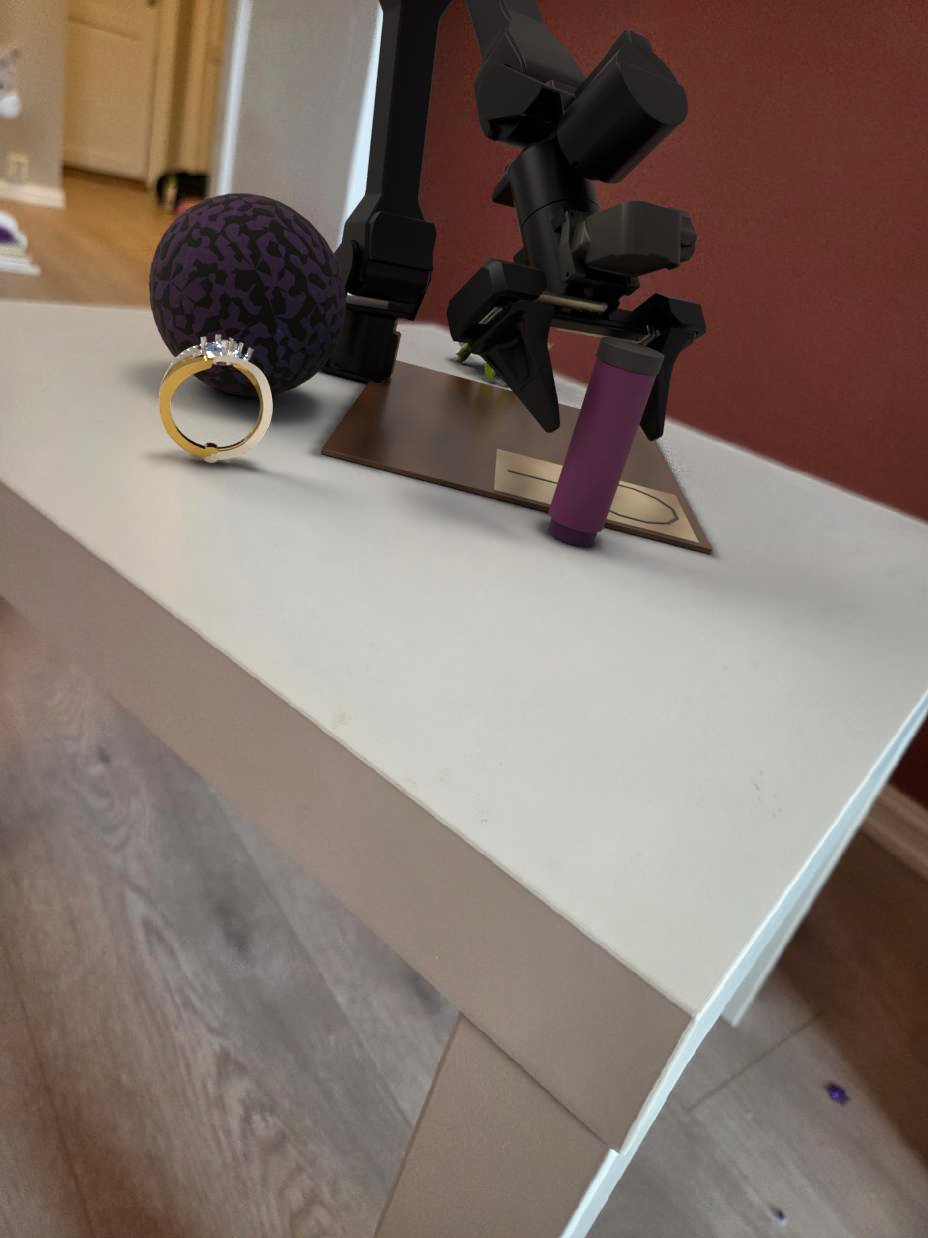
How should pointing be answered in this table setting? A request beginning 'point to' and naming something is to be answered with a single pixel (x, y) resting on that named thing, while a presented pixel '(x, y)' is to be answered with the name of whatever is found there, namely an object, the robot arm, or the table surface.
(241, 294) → the toy ball
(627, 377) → the dauber
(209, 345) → the ring
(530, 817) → the table surface
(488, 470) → the board
